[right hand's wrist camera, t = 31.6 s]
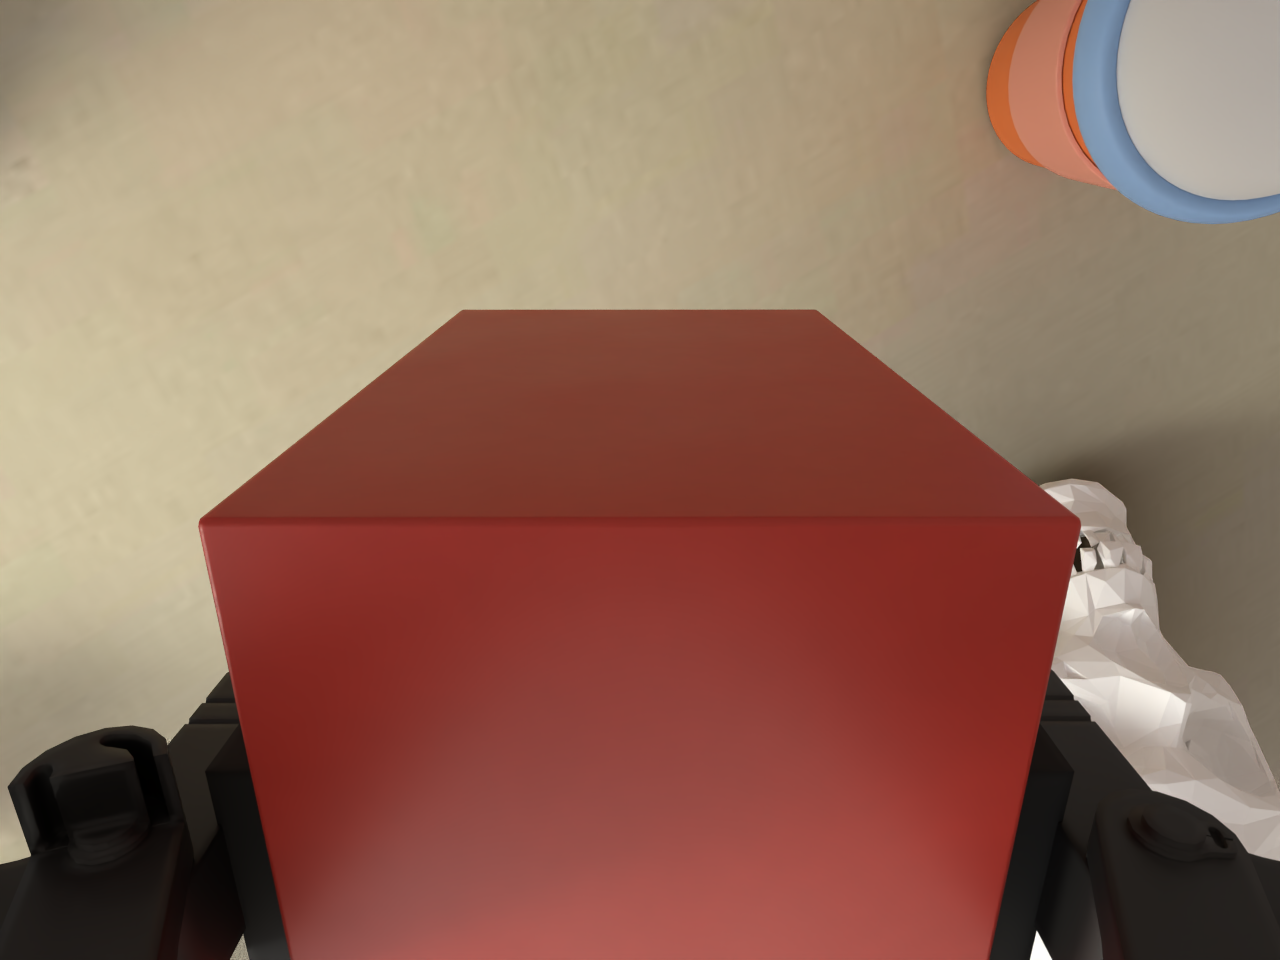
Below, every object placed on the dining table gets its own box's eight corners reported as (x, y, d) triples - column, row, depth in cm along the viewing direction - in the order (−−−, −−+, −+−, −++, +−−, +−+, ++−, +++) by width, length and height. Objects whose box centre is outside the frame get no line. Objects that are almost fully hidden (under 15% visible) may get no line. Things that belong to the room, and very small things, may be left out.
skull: (1196, 474, 36) (1562, 684, 21) (1059, 851, 44) (1258, 1195, 29) (899, 444, 36) (1060, 634, 21) (815, 827, 44) (890, 1160, 29)
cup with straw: (1217, -61, 29) (2021, -378, 12) (1159, 207, 32) (1727, 251, 15) (962, -62, 29) (1414, -380, 12) (929, 207, 32) (1249, 251, 15)
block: (788, 683, 19) (940, 1203, 9) (489, 684, 19) (339, 1204, 9) (817, 309, 16) (1087, 519, 6) (460, 309, 16) (192, 519, 6)
